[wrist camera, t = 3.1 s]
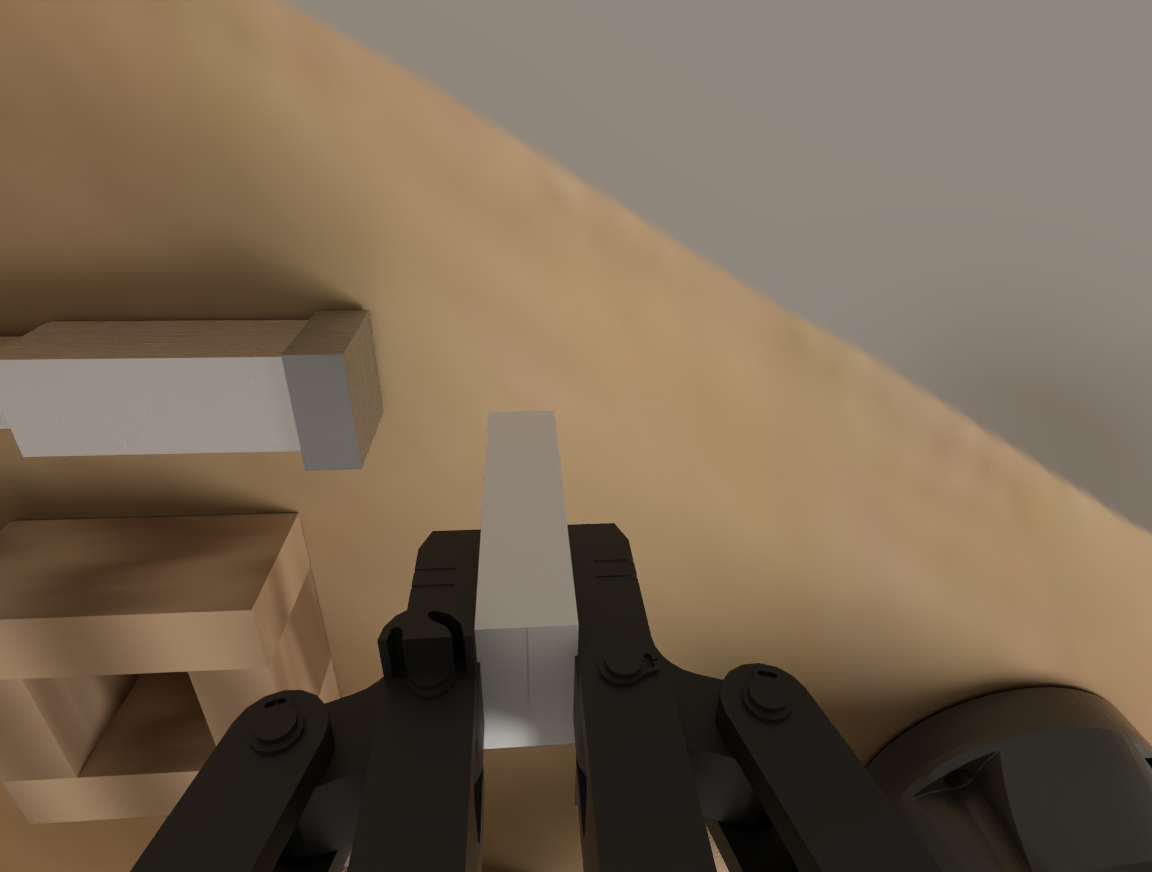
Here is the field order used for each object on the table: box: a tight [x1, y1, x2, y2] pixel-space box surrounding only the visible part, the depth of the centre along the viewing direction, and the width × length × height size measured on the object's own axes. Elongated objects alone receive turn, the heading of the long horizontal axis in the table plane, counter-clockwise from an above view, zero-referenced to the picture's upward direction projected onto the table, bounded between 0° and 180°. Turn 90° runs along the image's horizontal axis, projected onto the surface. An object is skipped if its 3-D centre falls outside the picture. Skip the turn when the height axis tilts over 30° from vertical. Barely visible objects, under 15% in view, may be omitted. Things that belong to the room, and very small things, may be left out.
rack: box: [0, 513, 340, 824], centre depth 25 cm, size 10×10×5 cm
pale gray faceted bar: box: [0, 310, 383, 470], centre depth 20 cm, size 14×4×4 cm, turn 89°
